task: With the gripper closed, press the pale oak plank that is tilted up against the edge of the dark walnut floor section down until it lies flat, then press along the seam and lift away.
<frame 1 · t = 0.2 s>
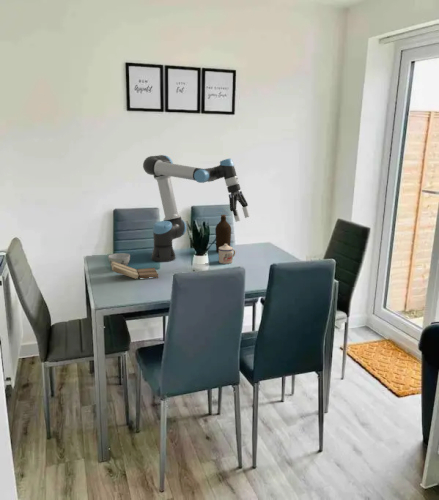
hand: (242, 219, 266), 28 cm above the table, tool tilted 20°, fingers open, 13 cm apart
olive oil: (223, 251, 301), on the table
oak plank: (124, 270, 245), point 4 cm above the table, hinge at 25.0°
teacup: (119, 268, 263), on the table
teacup with lid: (227, 261, 277), on the table
walnut floor section: (147, 275, 250), on the table
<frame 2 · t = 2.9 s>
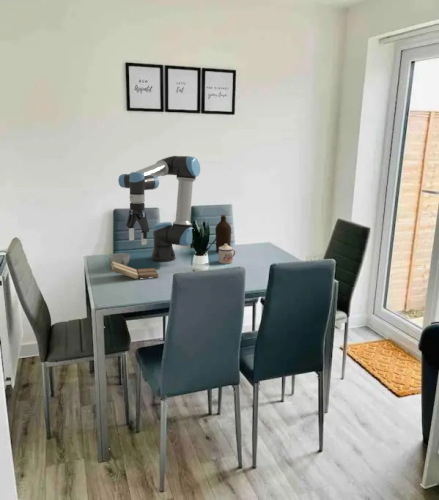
hand: (137, 242, 235), 22 cm above the table, tool pointing down, fingers open, 13 cm apart
nothing on the table moved.
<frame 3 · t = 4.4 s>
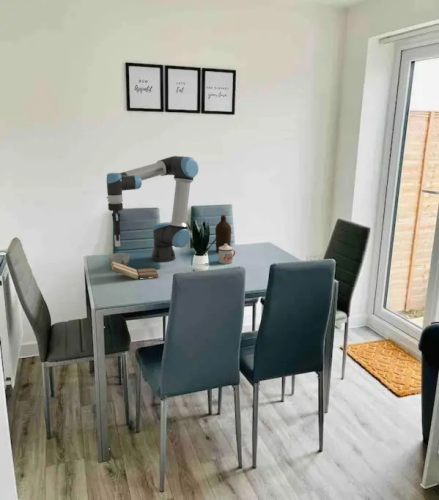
hand: (117, 245, 240), 18 cm above the table, tool pointing down, fingers closed
nothing on the table moved.
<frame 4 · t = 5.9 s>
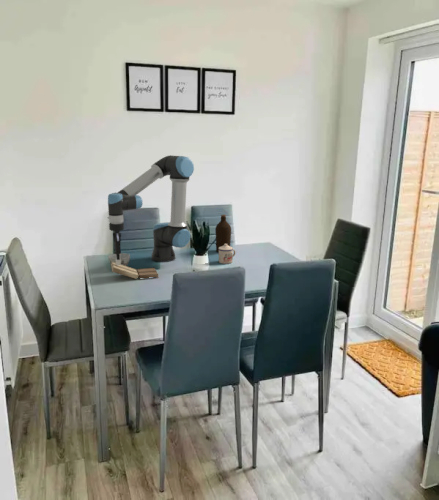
hand: (118, 264, 243), 8 cm above the table, tool pointing down, fingers closed
oak plank: (124, 270, 245), point 4 cm above the table, hinge at 23.4°, touching gripper
everything else where it was.
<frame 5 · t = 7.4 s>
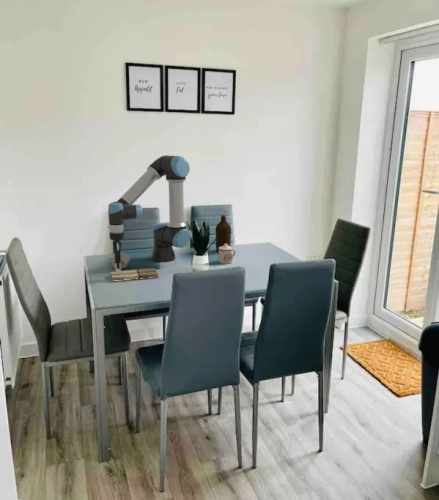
hand: (118, 273, 244), 3 cm above the table, tool pointing down, fingers closed
oak plank: (124, 275, 246), point 1 cm above the table, hinge at -0.1°, touching gripper
everything else where it was.
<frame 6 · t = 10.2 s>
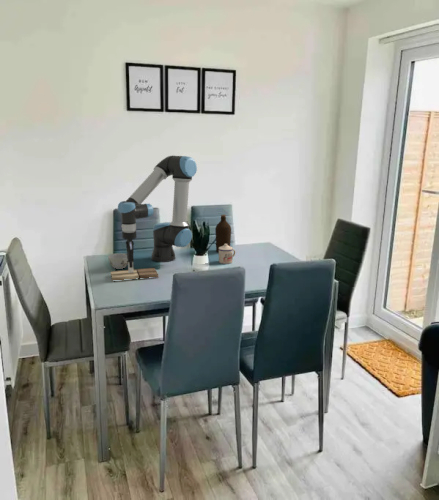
hand: (131, 272, 246), 3 cm above the table, tool pointing down, fingers closed
nothing on the table moved.
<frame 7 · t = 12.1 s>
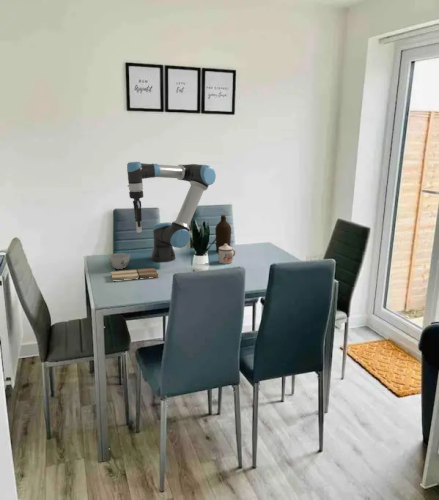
hand: (139, 232, 250), 23 cm above the table, tool pointing down, fingers closed
oak plank: (124, 275, 246), point 1 cm above the table, hinge at -0.1°
everything else where it was.
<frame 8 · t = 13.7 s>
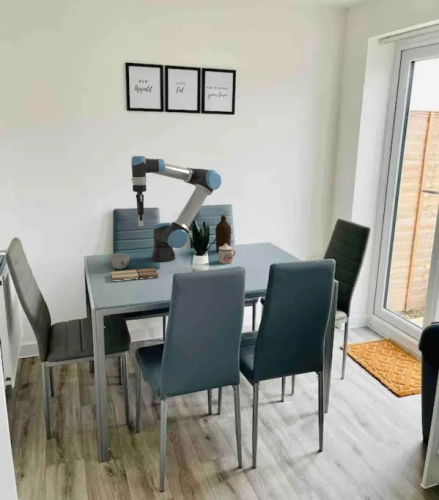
hand: (141, 225, 253), 26 cm above the table, tool pointing down, fingers closed
nothing on the table moved.
at the end: oak plank at +0° (first picture: +25°); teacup moved 0.2 cm from its start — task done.
